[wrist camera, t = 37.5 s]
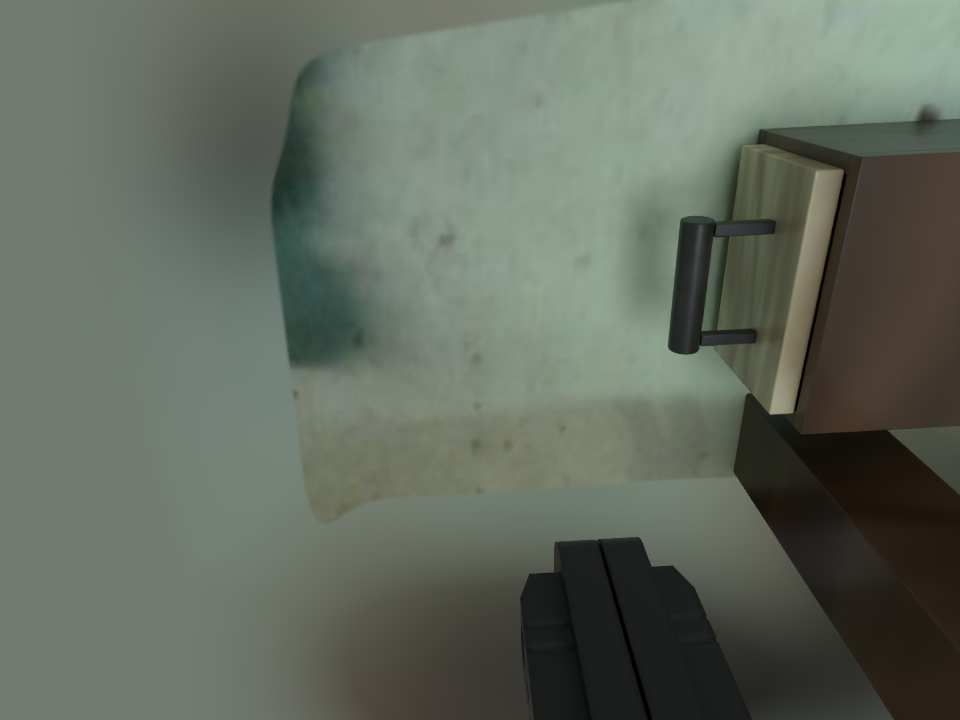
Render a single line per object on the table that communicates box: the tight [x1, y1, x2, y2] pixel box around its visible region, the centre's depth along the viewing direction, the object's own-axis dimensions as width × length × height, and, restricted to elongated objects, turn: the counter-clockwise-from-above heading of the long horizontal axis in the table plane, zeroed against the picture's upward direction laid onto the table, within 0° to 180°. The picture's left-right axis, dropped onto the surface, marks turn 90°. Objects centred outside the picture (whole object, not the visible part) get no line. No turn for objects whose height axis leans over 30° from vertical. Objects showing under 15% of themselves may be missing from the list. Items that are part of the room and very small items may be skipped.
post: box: [734, 394, 960, 720], centre depth 30 cm, size 6×6×24 cm
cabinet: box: [758, 119, 960, 434], centre depth 31 cm, size 15×13×9 cm
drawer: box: [668, 144, 847, 414], centre depth 31 cm, size 18×11×7 cm, turn 93°
